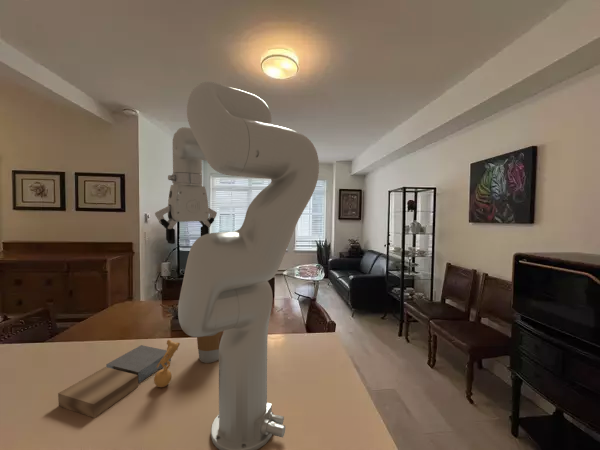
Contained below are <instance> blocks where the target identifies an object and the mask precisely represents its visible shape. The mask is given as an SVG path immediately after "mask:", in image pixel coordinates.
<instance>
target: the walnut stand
mask: <svg viewBox="0 0 600 450" xmlns="http://www.w3.org/2000/svg"><path fill="white" fill-rule="evenodd" d="M137 388H139V383H138V375H136V374H132V373H128V372H124V371H120V370H116V369H112V368H108V367H106V366H105V367H103V368H101V369H99V370H98V371H97V370H96V372H94V373H92V374H90V375H87V377H85V378H83V379H81V380H79V381H78V382H76V383H74V384H72V385H71V386H69V387H67V388H65V389H63V390H62V391H60V392H58V393H57V395H58V396H57V397H58V407H60V408H63V409H66V410H70V411H73V412H76V413H78V414H82V415H84V416H87V417H90V418H96V417H98V416H99V415H100V414H102V413H104V411H106V410H107V409H109V408H111V407H112V406H113V405H115V404H116V403H117V402H118V401H121V400H122V399H123V398H124V397H126V396H127V395H128V394H130V393H132V392H133V391H134V390H136V389H137Z"/></svg>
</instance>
